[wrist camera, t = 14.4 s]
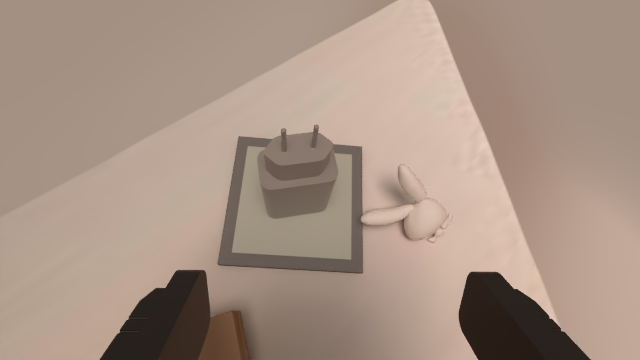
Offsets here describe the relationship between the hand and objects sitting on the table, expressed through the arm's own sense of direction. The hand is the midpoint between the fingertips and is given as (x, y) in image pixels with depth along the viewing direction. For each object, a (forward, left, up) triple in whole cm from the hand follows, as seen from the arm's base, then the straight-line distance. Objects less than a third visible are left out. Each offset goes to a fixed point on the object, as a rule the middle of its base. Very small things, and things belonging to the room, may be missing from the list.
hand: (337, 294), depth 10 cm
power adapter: (-2, +9, -17) cm, 19 cm away
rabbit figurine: (+8, +8, -18) cm, 21 cm away
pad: (-1, +9, -18) cm, 20 cm away
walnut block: (-6, -3, -18) cm, 19 cm away
